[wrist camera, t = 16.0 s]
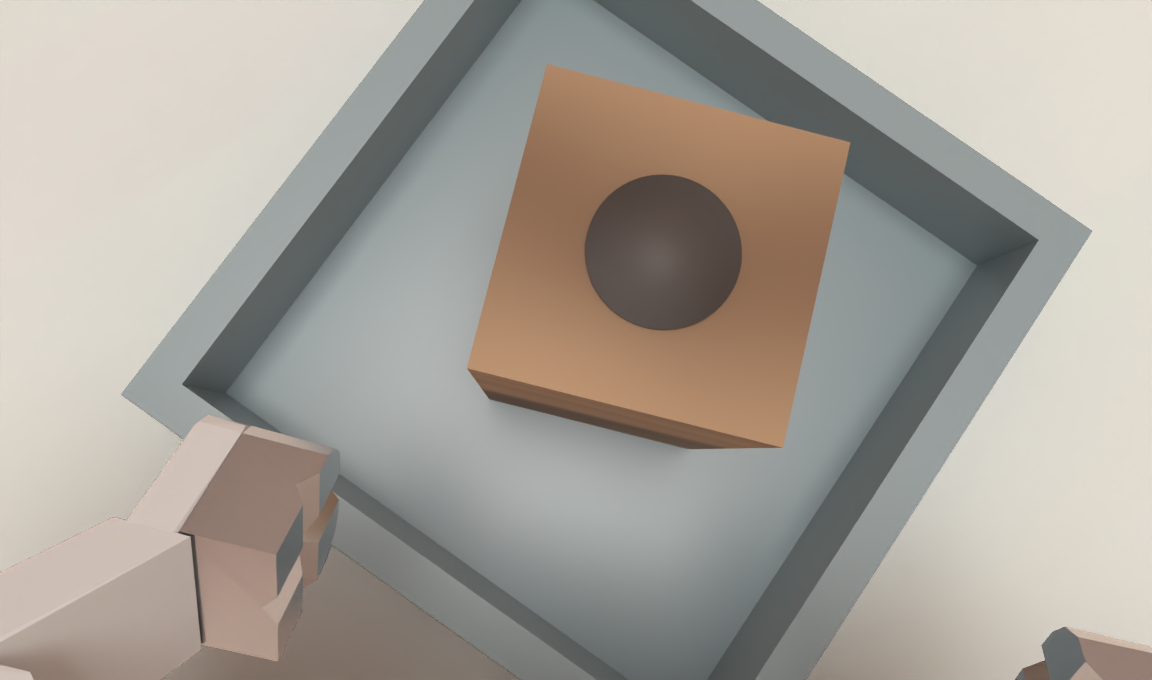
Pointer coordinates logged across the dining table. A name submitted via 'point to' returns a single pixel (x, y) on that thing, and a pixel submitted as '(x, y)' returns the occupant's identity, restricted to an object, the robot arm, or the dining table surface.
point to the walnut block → (658, 266)
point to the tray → (586, 452)
